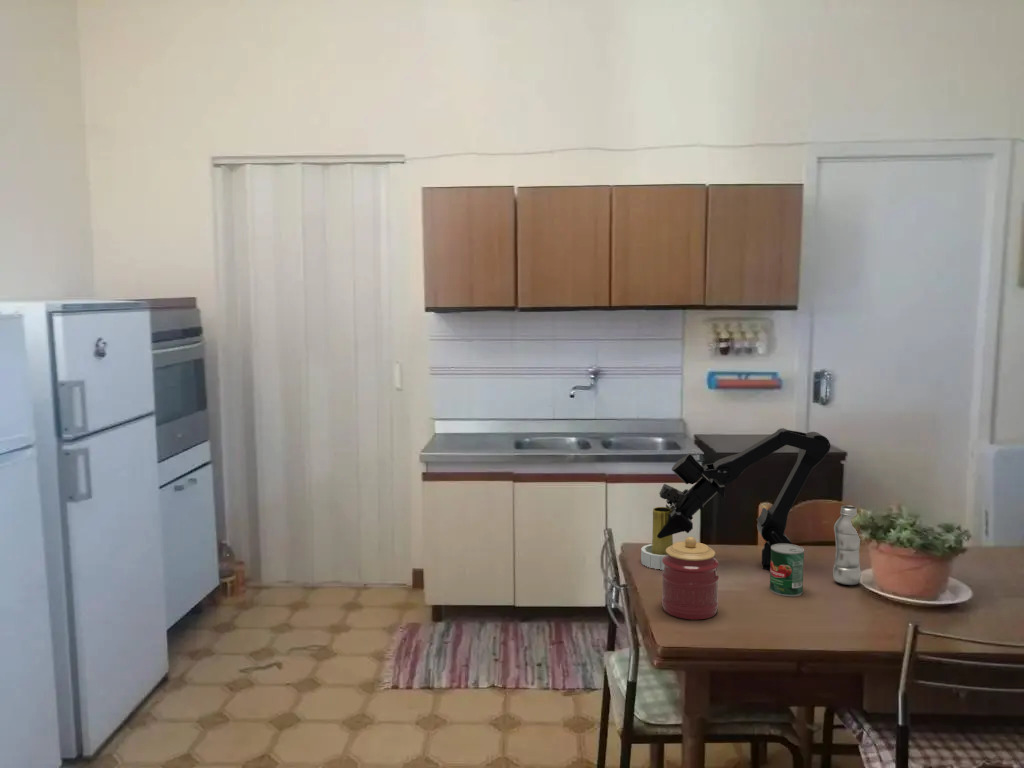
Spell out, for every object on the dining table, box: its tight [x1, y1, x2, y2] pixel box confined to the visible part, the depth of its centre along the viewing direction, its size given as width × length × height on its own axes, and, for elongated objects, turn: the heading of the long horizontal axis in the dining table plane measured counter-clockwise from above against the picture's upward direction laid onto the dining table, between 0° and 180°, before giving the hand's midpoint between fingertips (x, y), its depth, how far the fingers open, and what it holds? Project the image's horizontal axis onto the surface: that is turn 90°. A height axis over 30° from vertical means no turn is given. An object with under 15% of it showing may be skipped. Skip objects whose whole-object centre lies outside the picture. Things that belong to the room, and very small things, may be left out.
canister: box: [661, 536, 720, 621], centre depth 179 cm, size 13×13×18 cm
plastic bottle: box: [832, 505, 862, 586], centre depth 195 cm, size 6×7×20 cm
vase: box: [651, 506, 674, 555], centre depth 212 cm, size 6×6×14 cm
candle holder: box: [640, 543, 666, 571], centre depth 212 cm, size 11×11×4 cm
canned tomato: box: [769, 543, 805, 597], centre depth 191 cm, size 8×8×11 cm
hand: (657, 534), depth 212 cm, fingers closed on vase, 5 cm apart
